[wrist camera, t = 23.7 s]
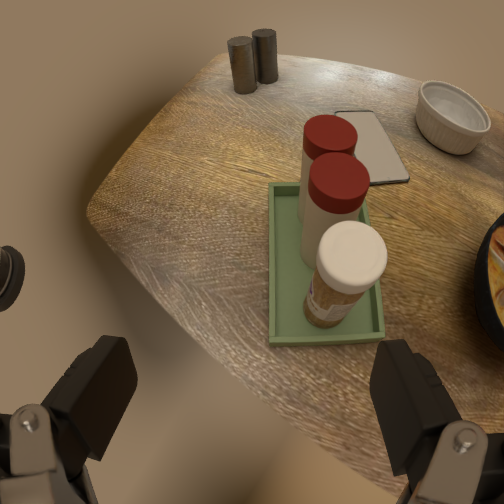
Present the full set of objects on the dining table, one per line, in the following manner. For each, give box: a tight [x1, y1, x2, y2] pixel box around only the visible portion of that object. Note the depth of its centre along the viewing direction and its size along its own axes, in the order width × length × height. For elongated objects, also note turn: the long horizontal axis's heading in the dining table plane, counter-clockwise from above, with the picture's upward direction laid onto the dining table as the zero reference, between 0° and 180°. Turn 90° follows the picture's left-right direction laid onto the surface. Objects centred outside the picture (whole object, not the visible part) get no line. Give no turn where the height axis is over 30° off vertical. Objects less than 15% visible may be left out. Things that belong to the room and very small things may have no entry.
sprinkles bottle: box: [303, 221, 387, 329], centre depth 24 cm, size 5×5×14 cm
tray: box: [269, 182, 385, 347], centre depth 32 cm, size 18×11×3 cm, turn 179°
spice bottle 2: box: [300, 152, 370, 270], centre depth 27 cm, size 5×5×13 cm
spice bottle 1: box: [298, 115, 358, 225], centre depth 29 cm, size 5×5×13 cm
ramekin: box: [416, 80, 491, 155], centre depth 38 cm, size 13×13×7 cm
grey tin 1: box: [227, 36, 257, 94], centre depth 44 cm, size 4×4×10 cm
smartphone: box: [335, 111, 410, 185], centre depth 40 cm, size 7×1×15 cm
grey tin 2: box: [252, 29, 278, 84], centre depth 45 cm, size 4×4×10 cm
